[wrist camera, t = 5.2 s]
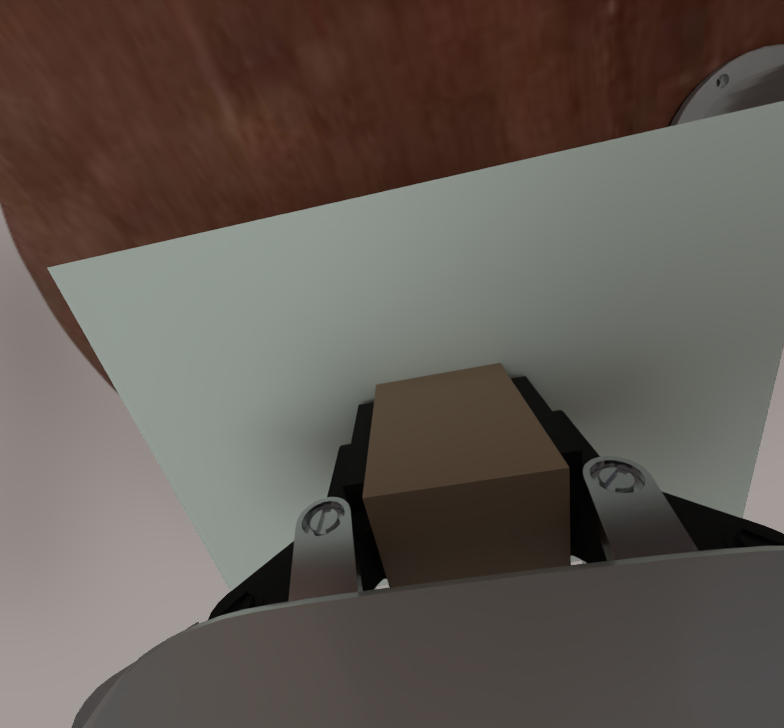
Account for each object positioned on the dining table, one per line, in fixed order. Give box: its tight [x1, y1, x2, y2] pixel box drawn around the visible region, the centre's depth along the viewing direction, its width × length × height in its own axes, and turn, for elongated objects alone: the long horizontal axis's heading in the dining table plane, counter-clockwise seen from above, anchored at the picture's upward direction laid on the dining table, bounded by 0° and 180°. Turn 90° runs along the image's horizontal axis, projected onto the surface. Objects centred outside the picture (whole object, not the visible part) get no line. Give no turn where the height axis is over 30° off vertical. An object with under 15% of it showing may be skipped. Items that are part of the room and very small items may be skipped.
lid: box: [48, 101, 784, 591], centre depth 10 cm, size 21×15×6 cm
